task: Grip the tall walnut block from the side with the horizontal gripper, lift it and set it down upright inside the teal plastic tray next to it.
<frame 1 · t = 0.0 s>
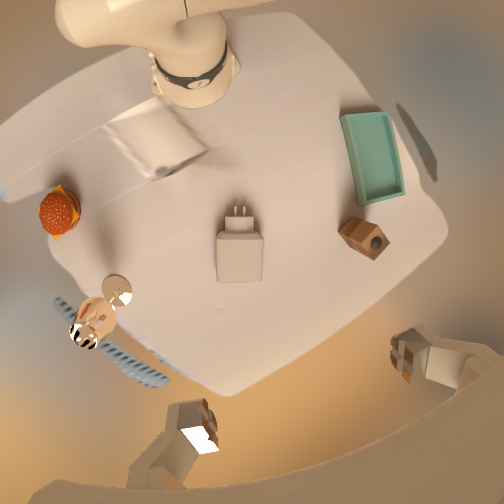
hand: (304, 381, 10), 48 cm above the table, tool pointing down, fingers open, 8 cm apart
hamburger: (65, 210, 51), on the table
tray: (371, 156, 56), on the table
wineglass: (117, 290, 57), on the table
charger: (238, 240, 58), on the table
block: (351, 231, 60), on the table
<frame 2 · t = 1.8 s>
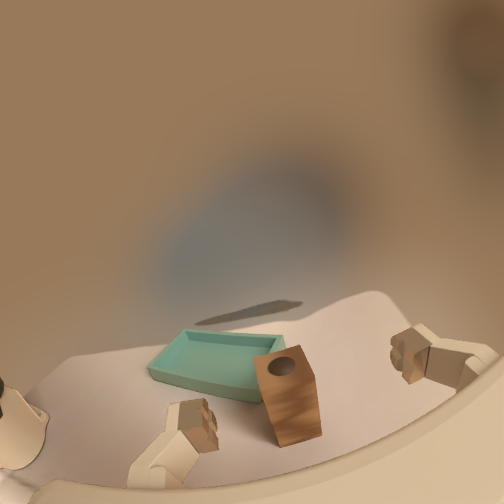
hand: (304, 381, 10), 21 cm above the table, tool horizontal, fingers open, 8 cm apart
tray: (217, 367, 43), on the table
block: (296, 426, 28), on the table
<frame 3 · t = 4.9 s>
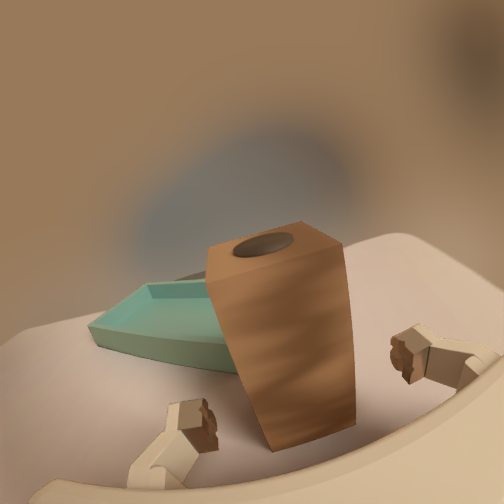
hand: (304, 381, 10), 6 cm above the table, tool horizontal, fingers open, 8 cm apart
tray: (182, 326, 30), on the table
block: (303, 411, 15), on the table
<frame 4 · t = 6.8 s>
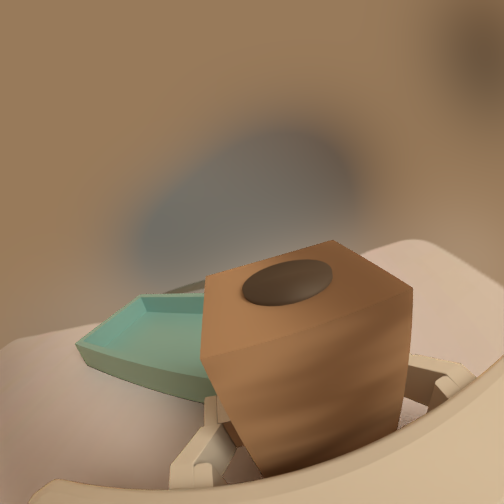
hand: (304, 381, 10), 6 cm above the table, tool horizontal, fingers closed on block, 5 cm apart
tray: (178, 347, 26), on the table
block: (322, 461, 11), on the table, touching gripper
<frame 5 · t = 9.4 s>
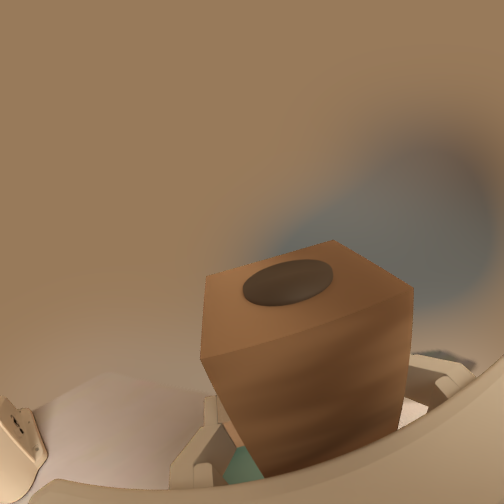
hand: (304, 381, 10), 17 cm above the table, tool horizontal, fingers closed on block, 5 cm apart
tray: (315, 486, 17), on the table
block: (323, 461, 11), point 11 cm above the table, touching gripper
when the fingers open (8 cm above the table, at t = 12.1 s): block drops 2 cm, resting on tray.
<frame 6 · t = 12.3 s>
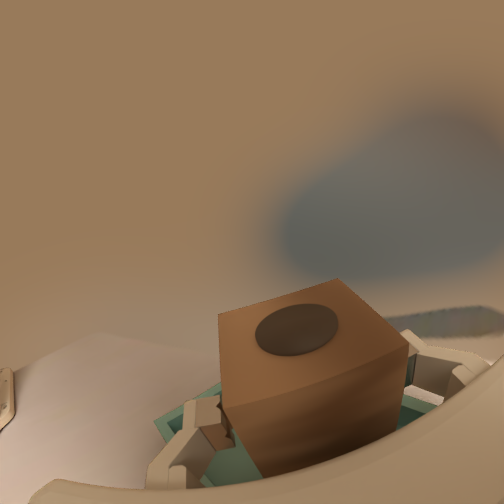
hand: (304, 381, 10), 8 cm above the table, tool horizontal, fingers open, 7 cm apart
tray: (325, 476, 12), on the table
block: (324, 472, 11), point 1 cm above the table, touching tray
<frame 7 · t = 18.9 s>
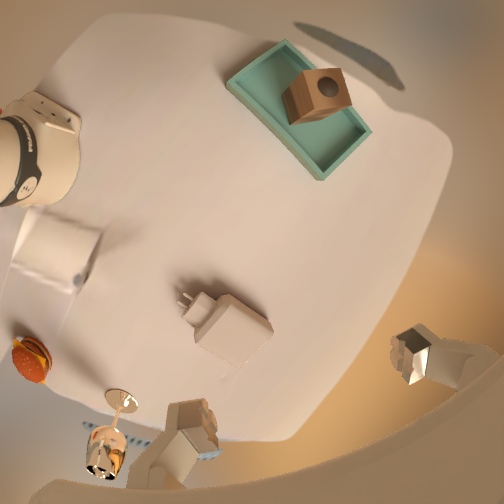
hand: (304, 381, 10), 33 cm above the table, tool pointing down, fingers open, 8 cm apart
hamburger: (37, 352, 43), on the table
tray: (299, 108, 38), on the table
wineglass: (121, 400, 48), on the table
charger: (218, 315, 46), on the table
block: (300, 107, 37), point 1 cm above the table, touching tray
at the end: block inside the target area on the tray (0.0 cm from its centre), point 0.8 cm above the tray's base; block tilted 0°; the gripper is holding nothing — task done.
